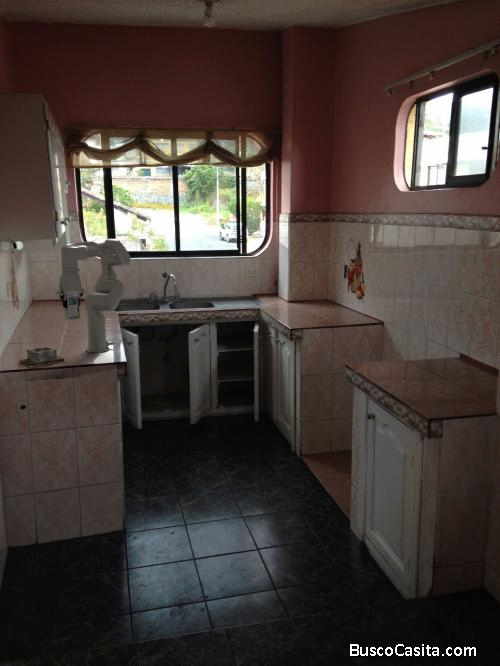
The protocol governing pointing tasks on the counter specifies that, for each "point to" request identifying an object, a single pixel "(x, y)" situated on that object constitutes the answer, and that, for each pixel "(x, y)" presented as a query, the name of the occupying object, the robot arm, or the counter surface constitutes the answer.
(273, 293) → the counter surface
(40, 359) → the collar stand
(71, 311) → the syrup box
